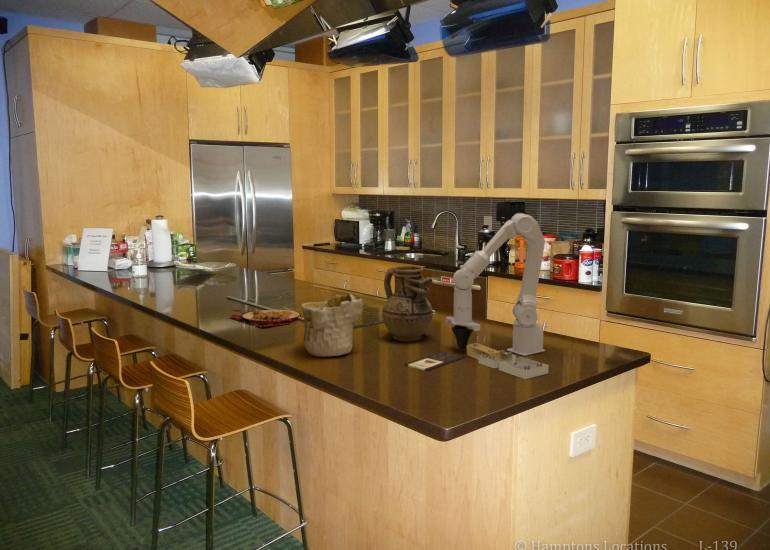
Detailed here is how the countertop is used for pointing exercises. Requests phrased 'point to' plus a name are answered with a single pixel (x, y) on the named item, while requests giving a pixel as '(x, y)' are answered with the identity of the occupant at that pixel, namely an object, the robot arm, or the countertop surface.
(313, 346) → the ceramic vessel
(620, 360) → the countertop surface
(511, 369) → the chain end
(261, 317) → the plate with food
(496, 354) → the riveted link plate
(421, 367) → the chocolate bar
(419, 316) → the decorative pitcher
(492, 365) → the chain end
